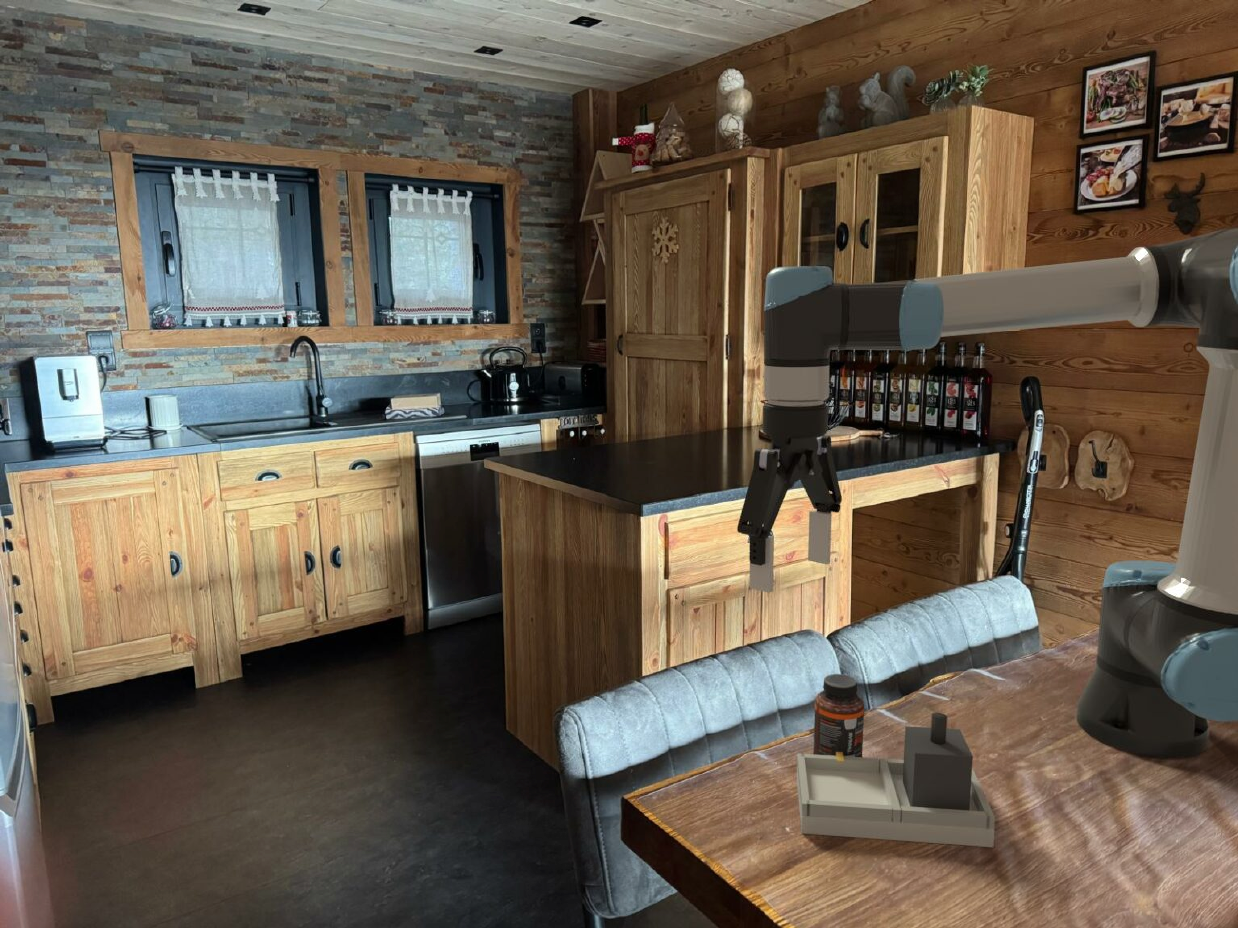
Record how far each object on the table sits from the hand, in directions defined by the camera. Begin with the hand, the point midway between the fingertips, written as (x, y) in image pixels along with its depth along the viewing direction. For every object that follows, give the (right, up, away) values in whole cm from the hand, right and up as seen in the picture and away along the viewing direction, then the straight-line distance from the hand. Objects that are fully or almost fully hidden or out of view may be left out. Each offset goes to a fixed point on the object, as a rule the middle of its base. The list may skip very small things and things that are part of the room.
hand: (791, 575), depth 106 cm
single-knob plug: (+15, -24, -8) cm, 29 cm away
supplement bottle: (+7, -24, +4) cm, 26 cm away
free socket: (+5, -24, -6) cm, 25 cm away
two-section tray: (+10, -26, -6) cm, 29 cm away
